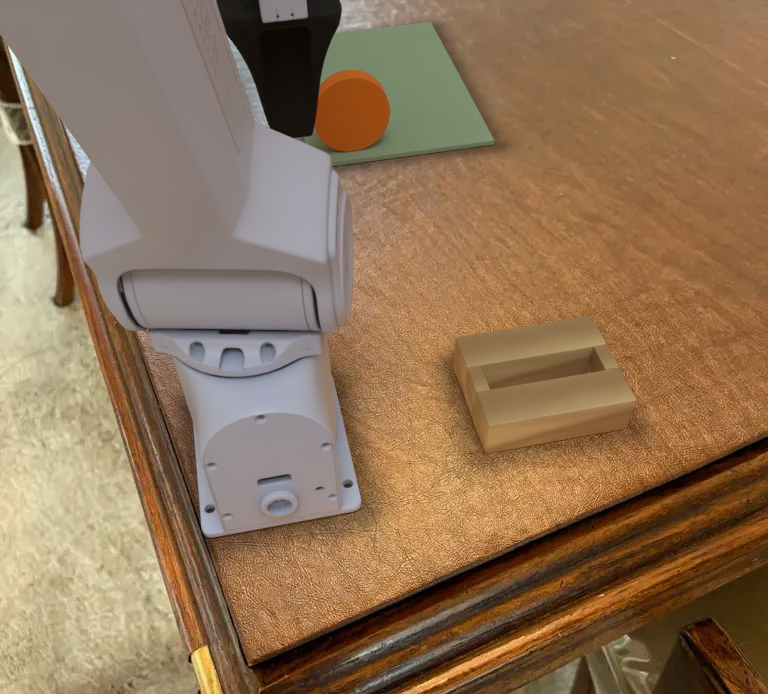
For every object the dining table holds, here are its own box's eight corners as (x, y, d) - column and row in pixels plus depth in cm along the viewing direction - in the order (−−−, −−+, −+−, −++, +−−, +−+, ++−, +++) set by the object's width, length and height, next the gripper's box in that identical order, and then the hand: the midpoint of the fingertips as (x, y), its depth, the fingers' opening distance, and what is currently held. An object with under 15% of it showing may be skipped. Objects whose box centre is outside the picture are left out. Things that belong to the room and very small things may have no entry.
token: (399, 135, 59) (377, 65, 54) (328, 162, 59) (302, 95, 55) (395, 127, 60) (374, 57, 55) (326, 154, 60) (299, 86, 56)
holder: (627, 429, 43) (637, 399, 41) (484, 454, 42) (488, 425, 40) (583, 344, 47) (591, 314, 45) (452, 366, 46) (455, 336, 44)
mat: (494, 144, 60) (494, 140, 60) (311, 169, 58) (311, 164, 58) (430, 26, 72) (430, 21, 72) (278, 44, 70) (277, 39, 70)
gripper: (371, -165, 30) (379, 159, 41) (313, -256, 39) (332, 31, 49) (183, -148, 29) (242, 178, 40) (167, -245, 38) (219, 44, 49)
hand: (284, 98), depth 45 cm, fingers open, 7 cm apart
